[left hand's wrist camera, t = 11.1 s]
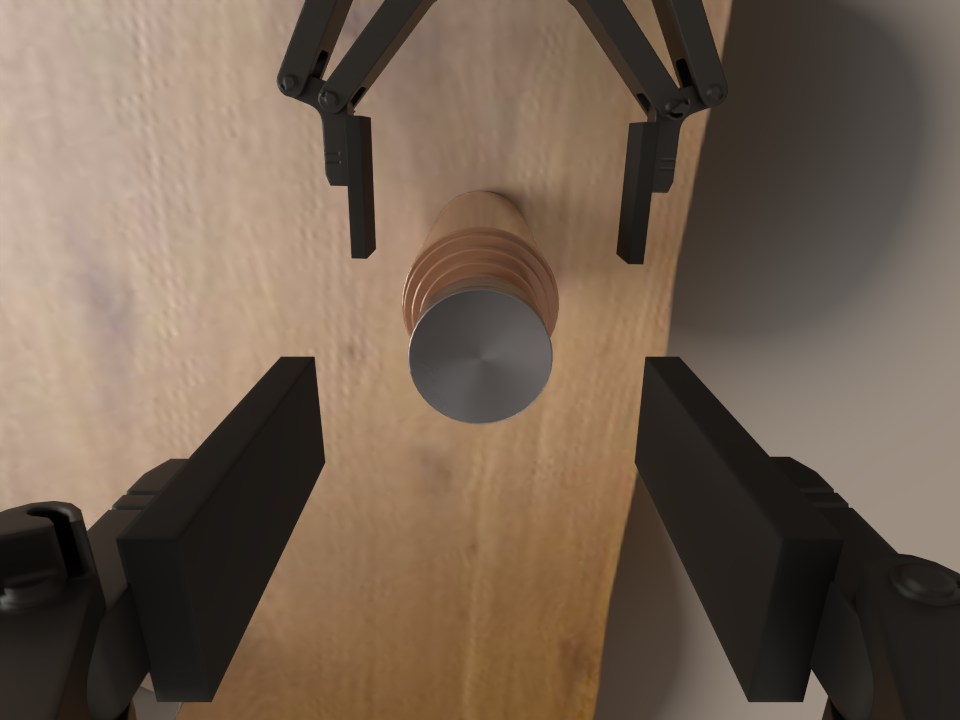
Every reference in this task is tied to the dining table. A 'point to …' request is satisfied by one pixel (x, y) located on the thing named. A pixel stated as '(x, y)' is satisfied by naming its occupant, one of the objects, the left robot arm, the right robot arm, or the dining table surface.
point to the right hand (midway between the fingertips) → (496, 257)
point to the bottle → (480, 255)
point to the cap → (480, 351)
